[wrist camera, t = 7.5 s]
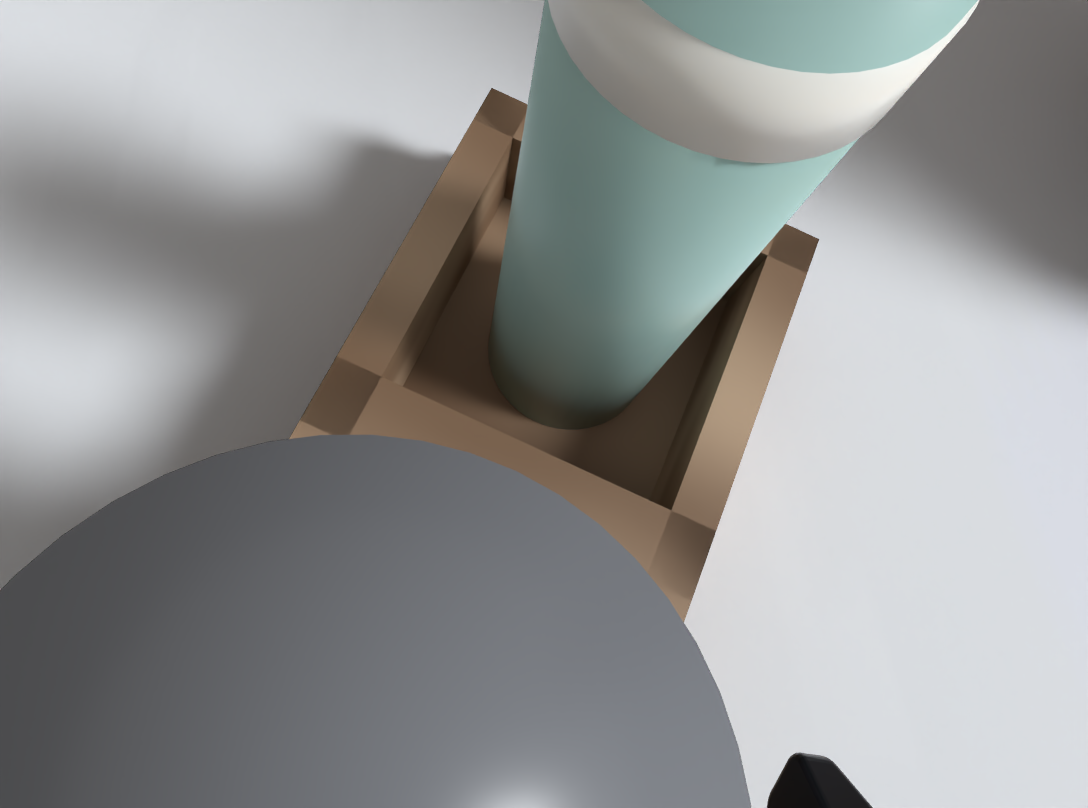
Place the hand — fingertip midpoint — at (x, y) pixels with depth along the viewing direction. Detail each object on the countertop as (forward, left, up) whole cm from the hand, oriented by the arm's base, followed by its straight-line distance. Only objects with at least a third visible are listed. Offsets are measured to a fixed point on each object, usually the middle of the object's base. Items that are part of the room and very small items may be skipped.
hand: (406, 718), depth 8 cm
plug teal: (+8, 0, -8) cm, 11 cm away
